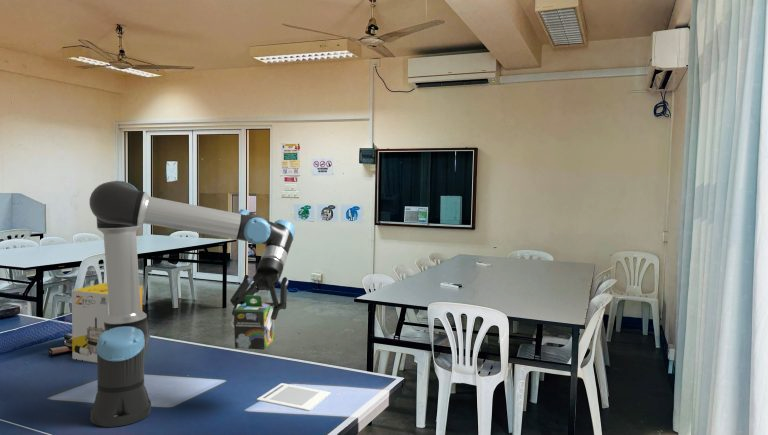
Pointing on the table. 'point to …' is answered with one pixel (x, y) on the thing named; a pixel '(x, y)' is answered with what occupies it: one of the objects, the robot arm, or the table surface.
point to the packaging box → (89, 320)
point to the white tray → (294, 396)
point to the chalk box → (252, 324)
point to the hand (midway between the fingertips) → (249, 327)
